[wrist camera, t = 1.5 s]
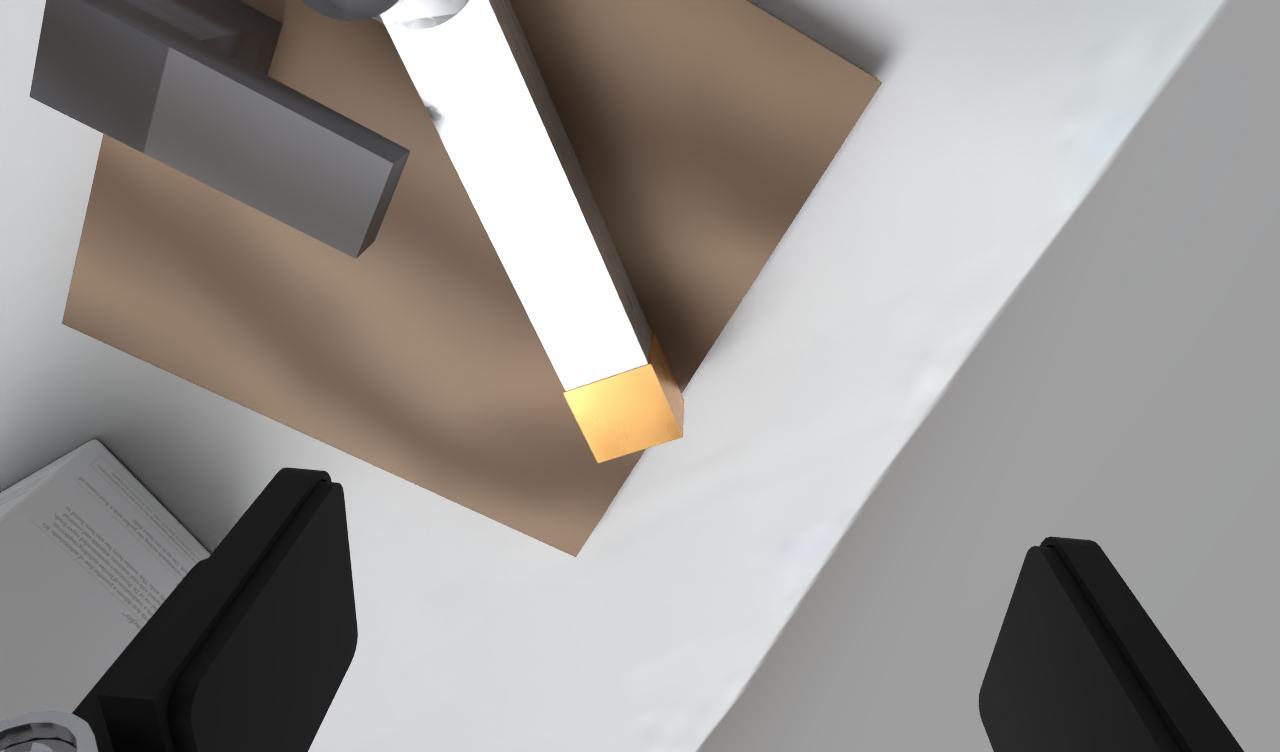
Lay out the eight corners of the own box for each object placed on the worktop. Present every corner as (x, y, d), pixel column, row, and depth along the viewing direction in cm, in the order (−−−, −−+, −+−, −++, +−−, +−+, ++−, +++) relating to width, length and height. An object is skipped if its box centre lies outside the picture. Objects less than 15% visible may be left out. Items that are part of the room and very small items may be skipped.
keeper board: (231, -312, 24) (37, -415, 17) (873, 75, 28) (933, 122, 21) (87, 308, 34) (-77, 407, 27) (580, 535, 37) (552, 674, 30)
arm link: (334, -106, 25) (198, -122, 18) (465, -173, 24) (374, -216, 17) (592, 423, 33) (564, 549, 26) (699, 389, 32) (699, 510, 25)
